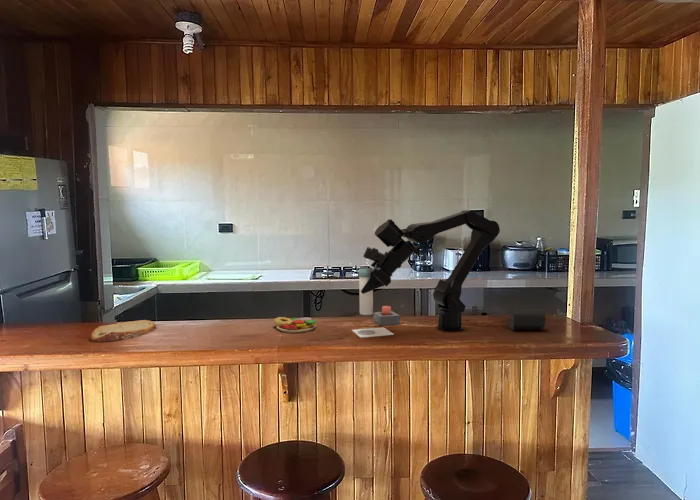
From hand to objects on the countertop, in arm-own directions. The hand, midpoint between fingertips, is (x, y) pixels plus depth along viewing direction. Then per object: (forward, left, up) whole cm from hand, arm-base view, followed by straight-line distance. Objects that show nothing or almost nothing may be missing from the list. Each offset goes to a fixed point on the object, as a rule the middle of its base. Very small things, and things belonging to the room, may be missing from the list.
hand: (361, 291), depth 156 cm
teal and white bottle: (-1, 0, -7) cm, 7 cm away
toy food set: (+19, -12, -14) cm, 26 cm away
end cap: (-52, +12, -14) cm, 55 cm away
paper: (-3, +1, -13) cm, 14 cm away
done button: (-12, -10, -12) cm, 20 cm away
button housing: (-12, -10, -13) cm, 21 cm away
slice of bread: (+72, -22, -14) cm, 76 cm away
